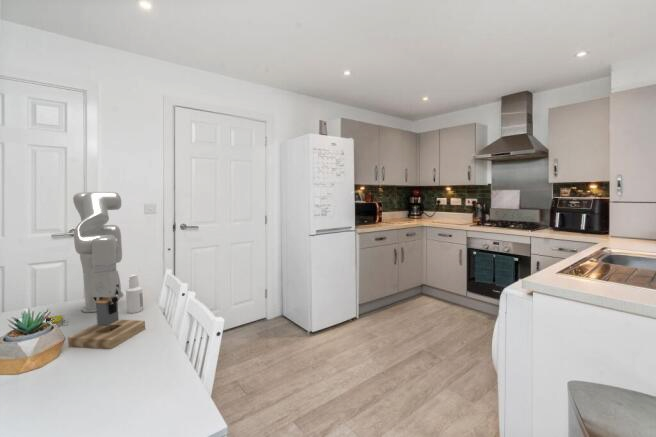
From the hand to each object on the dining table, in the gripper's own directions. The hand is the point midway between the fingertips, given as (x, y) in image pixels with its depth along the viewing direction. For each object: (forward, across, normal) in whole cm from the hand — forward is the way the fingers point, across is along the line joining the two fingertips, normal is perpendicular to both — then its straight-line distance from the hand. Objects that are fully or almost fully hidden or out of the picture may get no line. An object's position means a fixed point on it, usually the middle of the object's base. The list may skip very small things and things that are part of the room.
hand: (107, 312), depth 126 cm
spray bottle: (+10, -11, +28) cm, 32 cm away
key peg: (+4, 0, 0) cm, 4 cm away
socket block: (+10, 0, 0) cm, 10 cm away
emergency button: (+11, -37, +7) cm, 39 cm away
